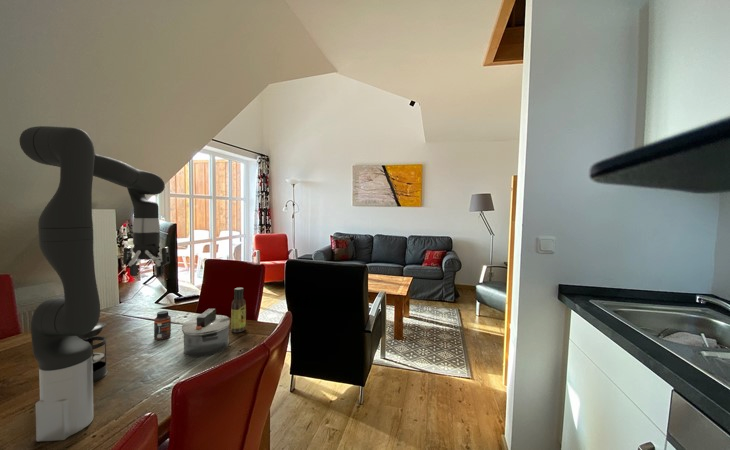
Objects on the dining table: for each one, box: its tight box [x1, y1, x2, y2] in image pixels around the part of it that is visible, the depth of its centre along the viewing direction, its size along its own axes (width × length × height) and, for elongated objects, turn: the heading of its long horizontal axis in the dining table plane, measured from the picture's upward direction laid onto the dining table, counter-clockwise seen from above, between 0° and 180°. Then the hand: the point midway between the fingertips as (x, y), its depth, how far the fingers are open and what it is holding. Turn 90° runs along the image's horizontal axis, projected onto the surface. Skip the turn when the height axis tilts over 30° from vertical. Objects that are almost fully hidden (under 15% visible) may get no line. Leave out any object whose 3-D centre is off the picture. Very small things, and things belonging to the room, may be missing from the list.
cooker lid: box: [181, 308, 231, 334], centre depth 114 cm, size 17×17×5 cm
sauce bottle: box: [230, 287, 247, 333], centre depth 131 cm, size 6×6×20 cm
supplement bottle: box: [153, 310, 172, 341], centre depth 122 cm, size 6×6×11 cm
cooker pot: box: [182, 322, 231, 358], centre depth 114 cm, size 22×17×9 cm
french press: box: [78, 321, 109, 383], centre depth 91 cm, size 12×9×23 cm
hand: (147, 276), depth 100 cm, fingers open, 8 cm apart
